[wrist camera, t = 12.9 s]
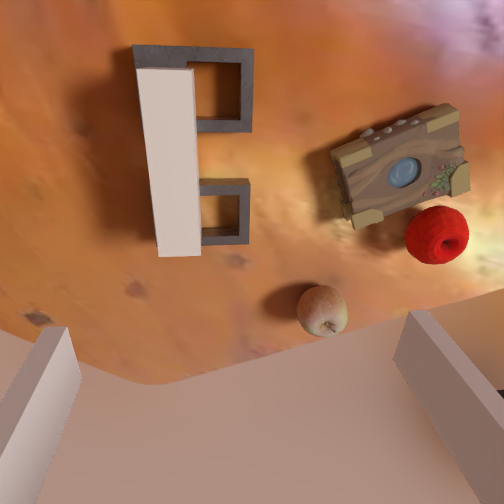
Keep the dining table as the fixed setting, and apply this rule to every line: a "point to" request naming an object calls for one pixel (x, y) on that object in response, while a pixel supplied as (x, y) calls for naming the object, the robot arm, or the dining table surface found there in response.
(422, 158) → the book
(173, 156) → the bar
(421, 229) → the apple
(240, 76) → the keyhole plates
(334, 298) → the fruit
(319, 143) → the dining table surface
